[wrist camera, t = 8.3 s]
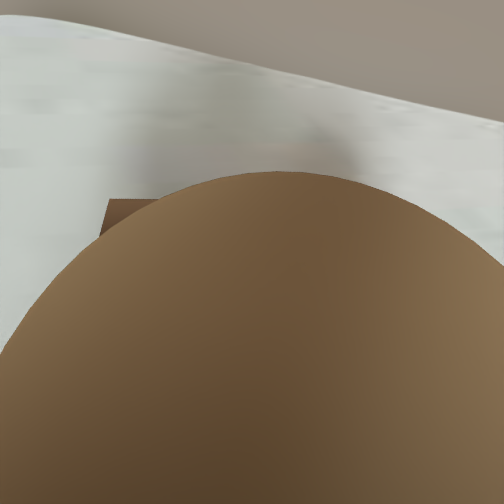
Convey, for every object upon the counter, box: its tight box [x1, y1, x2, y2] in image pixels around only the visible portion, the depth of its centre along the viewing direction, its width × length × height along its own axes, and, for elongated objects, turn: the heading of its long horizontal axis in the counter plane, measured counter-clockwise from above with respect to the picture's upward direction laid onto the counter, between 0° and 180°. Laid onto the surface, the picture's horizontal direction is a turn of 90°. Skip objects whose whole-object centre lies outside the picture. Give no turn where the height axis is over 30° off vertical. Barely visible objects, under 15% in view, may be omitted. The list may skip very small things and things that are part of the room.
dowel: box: [0, 171, 504, 504], centre depth 8 cm, size 5×5×13 cm
